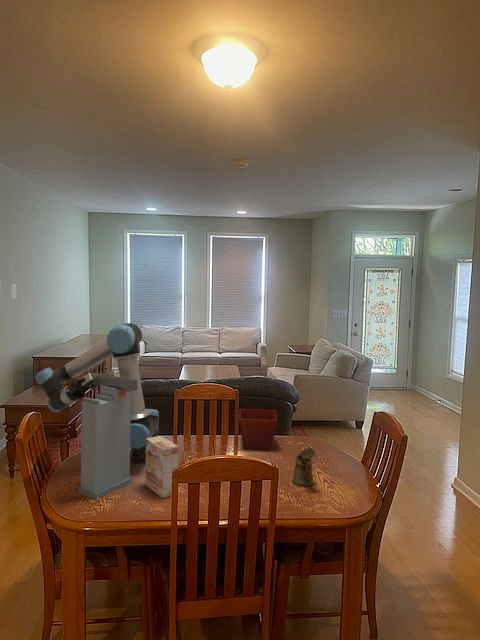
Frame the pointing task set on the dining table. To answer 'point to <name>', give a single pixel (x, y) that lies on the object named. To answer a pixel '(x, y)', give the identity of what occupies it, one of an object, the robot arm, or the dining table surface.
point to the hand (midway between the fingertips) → (102, 373)
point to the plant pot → (257, 428)
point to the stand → (105, 443)
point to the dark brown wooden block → (113, 382)
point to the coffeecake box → (160, 464)
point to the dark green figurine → (303, 468)
